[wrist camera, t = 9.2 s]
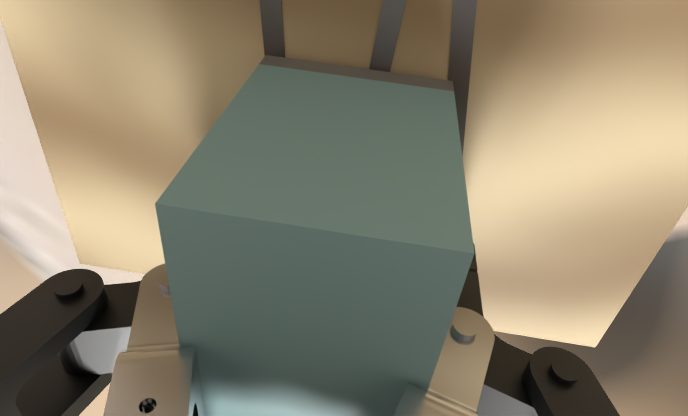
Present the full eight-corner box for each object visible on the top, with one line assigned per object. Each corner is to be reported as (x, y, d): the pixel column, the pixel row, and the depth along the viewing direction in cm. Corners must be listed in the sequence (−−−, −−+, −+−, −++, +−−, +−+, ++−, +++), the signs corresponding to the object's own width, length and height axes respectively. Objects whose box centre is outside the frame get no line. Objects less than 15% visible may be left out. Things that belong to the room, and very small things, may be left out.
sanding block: (265, 54, 12) (155, 203, 7) (452, 80, 11) (474, 253, 7) (266, 311, 17) (205, 494, 12) (393, 332, 17) (381, 526, 12)
